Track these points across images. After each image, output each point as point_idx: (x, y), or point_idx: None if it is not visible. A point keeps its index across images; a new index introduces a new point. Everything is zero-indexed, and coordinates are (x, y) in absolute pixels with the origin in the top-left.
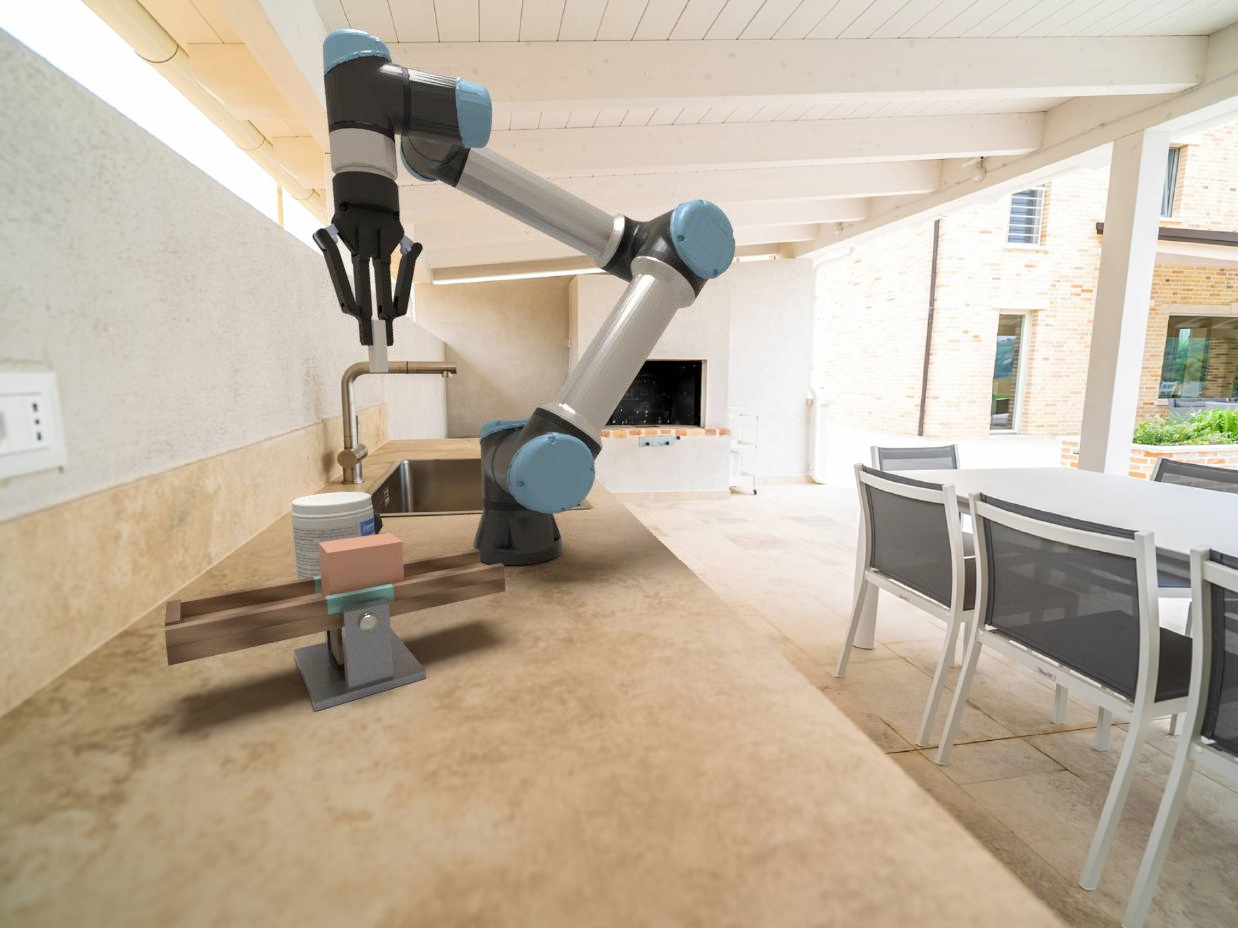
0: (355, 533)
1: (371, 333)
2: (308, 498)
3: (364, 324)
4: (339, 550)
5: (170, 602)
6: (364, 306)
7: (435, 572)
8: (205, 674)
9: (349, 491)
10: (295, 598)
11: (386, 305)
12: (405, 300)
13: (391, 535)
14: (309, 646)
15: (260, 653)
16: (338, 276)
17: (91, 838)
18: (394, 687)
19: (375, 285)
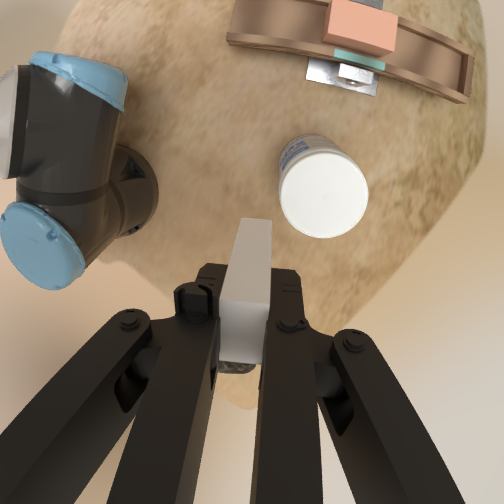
0: (314, 145)
1: (271, 290)
2: (345, 215)
3: (296, 309)
4: (388, 14)
5: (468, 93)
6: (300, 348)
7: (278, 37)
8: (418, 118)
9: (218, 371)
10: (396, 65)
11: (193, 347)
12: (94, 352)
13: (331, 22)
14: (365, 92)
15: (387, 121)
16: (430, 451)
17: (466, 15)
18: None
19: (197, 476)
